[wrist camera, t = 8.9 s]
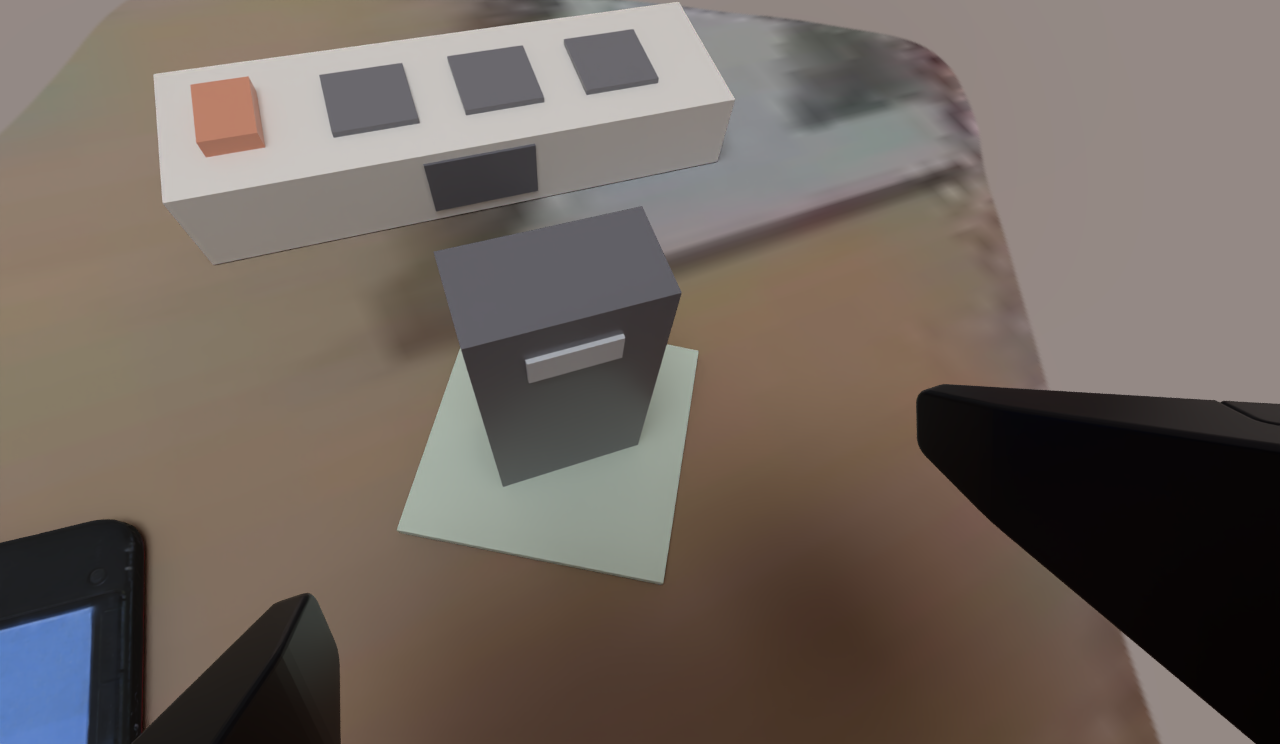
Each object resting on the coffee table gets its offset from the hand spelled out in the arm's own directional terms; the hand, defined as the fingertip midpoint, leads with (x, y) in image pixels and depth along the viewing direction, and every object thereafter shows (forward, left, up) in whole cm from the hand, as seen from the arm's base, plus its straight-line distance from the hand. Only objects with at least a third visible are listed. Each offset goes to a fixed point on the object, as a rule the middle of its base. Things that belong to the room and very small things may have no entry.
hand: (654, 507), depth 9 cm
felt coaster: (+3, -6, -14) cm, 15 cm away
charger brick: (+3, -6, -13) cm, 15 cm away
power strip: (+10, -18, -14) cm, 25 cm away
